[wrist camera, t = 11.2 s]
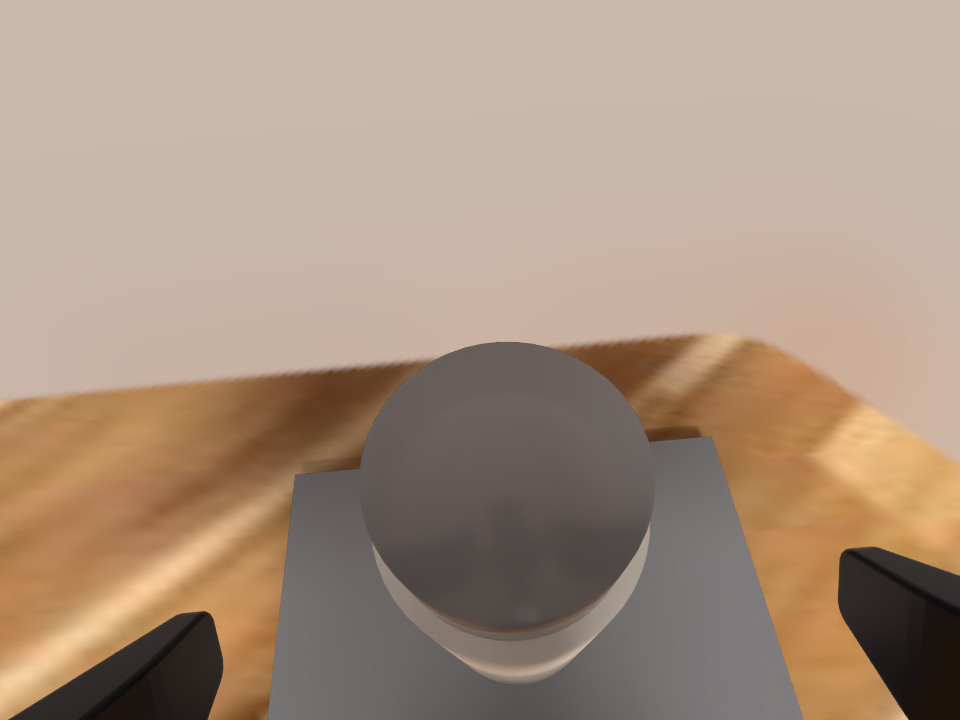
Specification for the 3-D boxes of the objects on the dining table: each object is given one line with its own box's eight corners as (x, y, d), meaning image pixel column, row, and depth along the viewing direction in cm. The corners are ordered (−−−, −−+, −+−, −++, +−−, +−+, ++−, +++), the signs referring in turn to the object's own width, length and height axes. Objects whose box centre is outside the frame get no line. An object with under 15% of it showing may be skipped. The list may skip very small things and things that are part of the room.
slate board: (706, 444, 22) (711, 436, 21) (804, 757, 16) (816, 759, 16) (302, 481, 22) (295, 474, 21) (268, 801, 17) (257, 805, 16)
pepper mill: (616, 654, 17) (746, 579, 7) (462, 708, 17) (371, 708, 7) (558, 505, 20) (594, 296, 10) (425, 547, 19) (318, 374, 9)
